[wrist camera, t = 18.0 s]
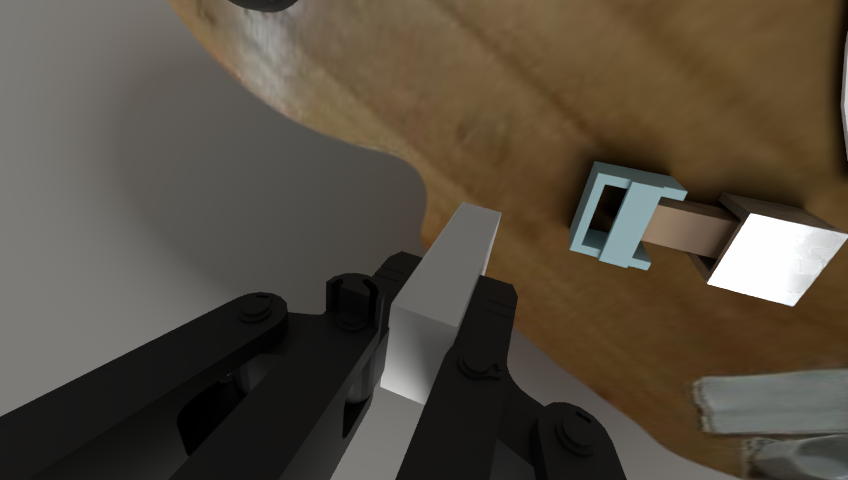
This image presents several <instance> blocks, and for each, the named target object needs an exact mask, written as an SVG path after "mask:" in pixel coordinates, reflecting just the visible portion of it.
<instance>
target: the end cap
mask: <svg viewBox="0 0 848 480" xmlns="http://www.w3.org/2000/svg"><path fill="white" fill-rule="evenodd" d="M718 201H720V202H721V203H722V204H723V205H724V206H725V207H727V208H728V209H729V210H730V211H731V212H733V213H734V214H735V215H736V216H737V217H738V218H740V219H741V222H740V224H739V225H738V227H737V229H736V230H735V232H734V233H733V235H732V237H731V238H730V240H729V242H728V243H727V245H726V246H725V248H724V250H723V251H722V253H721V255H720V256H719V258H718V259H714V258H710V257H706V256H702V255H699V254H695V253H691V252H689V253H688V256H689V257H690V259H691V260H692V262H693V263H694V265H695V266H696V268H697V269H698V271H699V272H700V274H701V275H702V277H703V278H704V280H705V281H706V283H707V284H710V285H714V286H718V287H721V288H725V289H729V290H733V291H737V292H740V293H744V294H748V295H752V296H756V297H759V298H763V299H767V300H771V301H774V302H778V303H782V304H786V305H790V306H794V305H795V304H796V302H797V301H798V300H799V299H800V297H801V296H802V295H803V294H804V292H805V291H806V290H807V289H808V287H809V286H810V285H811V283H812V282H813V281H814V280H815V278H816V277H817V276H818V275H819V273H820V272H821V271H822V270H823V268H824V267H825V266H826V265H827V263H828V262H829V261H830V260H831V258H832V257H833V256H834V254H835V253H836V252H837V251H838V249H839V248H840V247H841V246H842V244H843V243H844V242H845V241H846V239H847V238H848V233H846V232H844V231H842V230H841V229H839V228H837V227H835V226H834V225H832V224H830V223H828V222H827V221H825V220H823V219H821V218H820V217H818V216H816V215H815V214H813V213H811V212H809V211H808V210H806V209H802V208H798V207H793V206H788V205H783V204H778V203H773V202H768V201H763V200H759V199H754V198H749V197H744V196H739V195H734V194H729V193H725V192H723V193H722V194H721V196H720V198H719V200H718Z"/></svg>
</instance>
